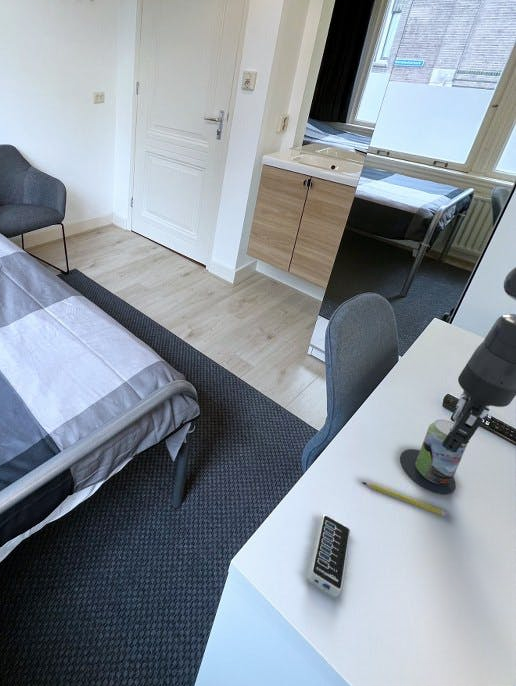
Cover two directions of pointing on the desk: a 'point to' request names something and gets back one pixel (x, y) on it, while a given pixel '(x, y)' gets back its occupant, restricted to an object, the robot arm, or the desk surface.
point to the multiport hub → (329, 556)
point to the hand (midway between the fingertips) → (452, 434)
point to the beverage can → (438, 454)
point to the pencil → (406, 499)
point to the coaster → (409, 467)
